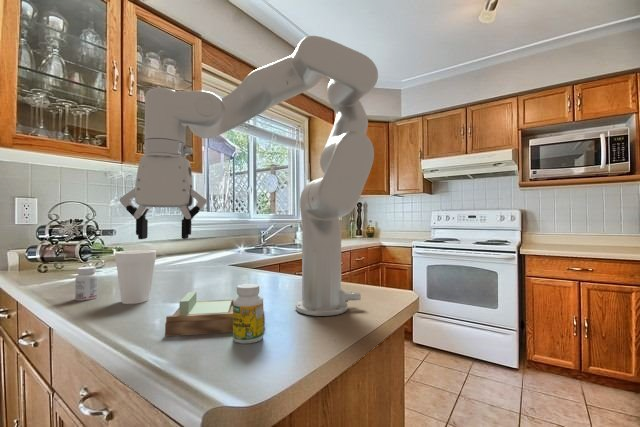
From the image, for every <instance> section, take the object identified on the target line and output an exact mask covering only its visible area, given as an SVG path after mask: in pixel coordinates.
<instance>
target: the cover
mask: <svg viewBox="0 0 640 427" xmlns="http://www.w3.org/2000/svg"><path fill="white" fill-rule="evenodd" d="M196 301H197V291H188V292H187V293H186V294H185V295H184V296H183V298H181V300H180V301H179V307H180V314H179V315H194V314H212V313H229V311H230V308H231V304H232V301H213V302H196Z"/></svg>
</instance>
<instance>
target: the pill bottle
mask: <svg viewBox="0 0 640 427" xmlns="http://www.w3.org/2000/svg"><path fill="white" fill-rule="evenodd" d="M76 272H77V275H76V276H75V288H74V290H75V292H74V293H75V294H74V295H75V301H89V300H93V299H96V298H97V297H98V274H97V273H96V272H97V268H96V266H83V267H77V271H76Z"/></svg>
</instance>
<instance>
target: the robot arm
mask: <svg viewBox="0 0 640 427" xmlns="http://www.w3.org/2000/svg"><path fill="white" fill-rule="evenodd" d="M324 77H325V78H327V79H330V81H329V83H328V84H327V87H326V91H327V92H326V94H327V100H328V102H329V103H330V106H331V108H332V109H333V111H334V115H335V120H334V123H333V125H332V129H331V131H330V134H329V136H328V138H327V140H326V143H325V144H324V146H323V149H322V152H321V153H320V159H319V164H320V169H321V171H322V172H323V174H324V175H323V177H319V178H317V179H314V180H311V181H310V182H309V183H307V184H306V185H305V187H304V188H303V190H302V191H301V192H300V193H301V194H300V196H299V197H300V198H299V199H300V200H299V210H300V219H301V231H302V234H301V235H302V237H301V238H302V240H301V241H302V244H301V245H302V246H301V249H302V251H301V252H302V253H301V257H302V258H301V261H302V262H301V265H302V267H301V270H302V271H301V300H299V301H297V302H296V303H295V310H296V311H297V312H298V313H300V314H303V315H307V316H315V317H328V316H329V317H330V316H336V315H340V314H343V313H345V312H347V311H348V302H350V301H352V302H356V301H361V298H362V297H361V292H352V291H345V290H343V289H342V228H341V223H340V218H342V217H344V216H347V215H349V214H350V213H352V211H353V210H354V209H355V208H356V206H357V205H358V203H359V200H360V198H361V194H362V192H363V190H364V188H365V185H366V182H367V179H368V178H369V176H370V172H371V169H372V166H373V163H374V159H375V149H374V145H373V143H372V141H371V139H370V138H369V137H368V136H367V131H368V126H369V120H368V119H369V118H368V116H367V113H366V111H365V108H364V106H363V104H362V102H361V100H360V99H362V98H363V97H365V96H366V95H368V94H369V93H370V92H371V91H372V90H373V89H374V88H375V87H376V85H377V83H378V79H379V71H378V68H377V65H376V64H375V62H374V61H373V60H372V59H371V58H370V57H369V56H367V55H366V54H363V53H362V52H359V51H357V50H356V49H352V48H350V47H348V46H346V45H343V43H340V42H337V41H334V40H332V39H329V38H327V37H322V36H317V35H309V36H308V35H307V36H306V37H304V38H303V39H301V40H300V41H299V43H298V44H297V47H296V48H295V50H294V51H293V53H292V54H291V55H289V56H286V57H284V58H282V59H279V60H277V61H275V62H272V63H269V64H267V65H264V66H262V67H259V68H257V69H255V70H253V71H251V72H250V73H249V74H248V75H247V76H246V77H245V78H244V79H243V80H242V81H241V83H240V84H239V85H238V86H237V87H236V88H234V89H233V90H232V91H231V92H230V93H228V94H227V95H225V96H224V97H222V98H220V96H218V95H217V94H215V93H214V92H211V91H209V90H208V91H207V90H174V89H170V88H166V87H153V88H150V89H148V91H146V93H145V96H144V97H145V98H144V148H143V149H144V151H143V152H144V153H143V156H140V159H139V162H138V165H137V166H138V167H137V172H136V179H135V187H134V188H132V189H131V190H129V191H128V192H127V193H125V194H124V195H122V196H121V197H120V198H119V200H118V201H119V202H120V204H122V206H123V208H125V209H126V211H127V212H128V213H129V214H130V215H131V216H132V217H133V218H134V219H135V234H136V236H137V237H138V238H137V239H138V240H146V239H148V234H149V232H148V230H149V229H148V227H149V226H148V222H149V221H148V219H147V218H146V217H147V215H148V213H149V211H150V210H151V208H179V211H180V212H181V213H182V215H183V218H182V219H181V239H183V240H186V239H189V235H192V219H193V218H195V216H197V214H198V213H199V212H200V211H201V210H202V209H203V208H204V207H205V205H207V203H208V199H207V198H205V197H204V196H202V195H201V194H200V193H198V192H197V191H196V190H195V189H193V187H194V186H193V175H192V174H193V173H192V167H191V166H192V165H191V161H190V160H189V159H187V156H189V155H193V153H194V150H193V147H189V146H187V145H186V142H187V141H186V139H187V138H186V135H187V134H186V130H187V126H188V129H189V130H190V132H192V134H194V135H195V136H196V137H198V138H202V139H206V140H207V139H214V138H216V137H218V136H221V135H223V134H225V133H227V132H229V131H231V130H234V129H235V128H237V127H239V126H241V125H243V124H245V123H247V122H248V121H249V120H252V119H253V118H255V117H257V116H259V115H262V114H263V113H264V112H266V111H268V110H269V109H270V108H272V107H274V106H277V105H278V104H281V103H283V102H285V101H287V100H289V99H292V98H294V97H296V96H297V95H300V94H303V93H306V92H307V91H309V90H310V89H313V88H315V86H317V85H318V83H320V82H321V80H322V79H323V78H324ZM194 199H195V200H196V201H197V203H196V204H195V205H194V207H192V208H191V209H190V207H191V206H192V205H193V202H194ZM132 200H135V201H134V202H135V203H136V204H137V205H138V207H136V206H135V205H134V204H133V202H132Z"/></svg>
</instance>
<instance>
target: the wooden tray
mask: <svg viewBox="0 0 640 427" xmlns="http://www.w3.org/2000/svg"><path fill="white" fill-rule="evenodd" d="M234 299H235V298H234ZM234 299H232V298H231V299H213V300H212V299H211V300H196V302H213V301H232V304H231V308H230V311H229V313H212V314H194V315H179V314H180V306H179V307H178V308H177V310H176V311H175V312H174V313H173V314H172V315H166V317H165V323H164V324H165V325H164V326H165V329H164V332H165V334H164V337H177V335H178V336H191V334H195V335H207V334H221V333H222V334H224V333H233V301H234ZM262 299H263V300H264V298H263V297H262ZM264 330H265V308H264V306H263V331H264Z"/></svg>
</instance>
